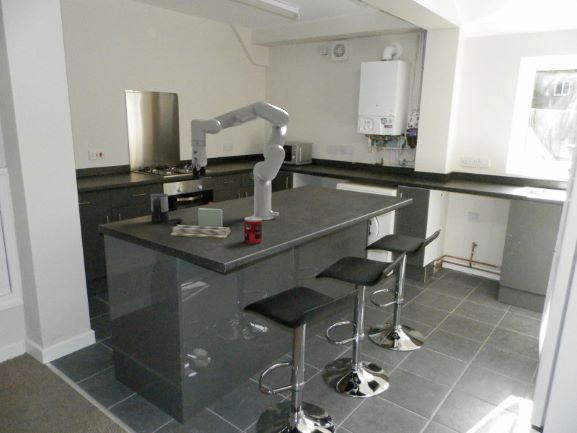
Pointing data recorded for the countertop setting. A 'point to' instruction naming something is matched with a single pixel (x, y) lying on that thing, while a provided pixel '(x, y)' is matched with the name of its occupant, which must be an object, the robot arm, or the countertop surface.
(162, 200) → the milk frother
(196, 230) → the door track
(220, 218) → the door panel
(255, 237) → the canned food
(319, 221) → the countertop surface
